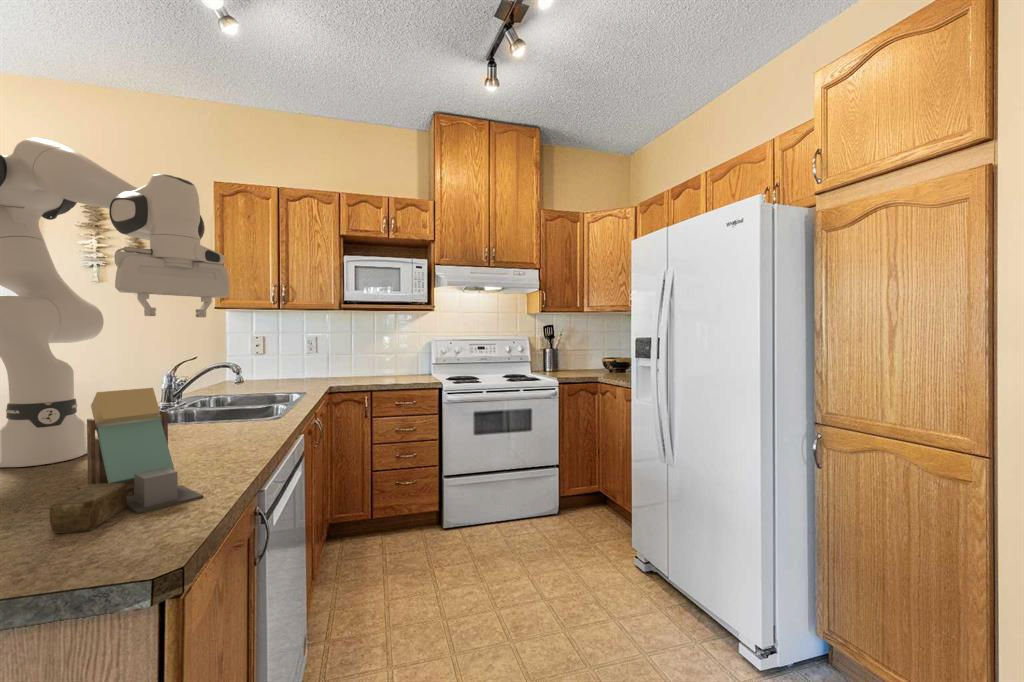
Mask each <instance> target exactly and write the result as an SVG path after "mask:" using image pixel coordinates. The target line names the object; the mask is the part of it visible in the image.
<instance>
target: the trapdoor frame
mask: <svg viewBox="0 0 1024 682" xmlns="http://www.w3.org/2000/svg"><path fill="white" fill-rule="evenodd" d="M159 411H160V414H159V415H161V417H162V421H161V423H162V426H163V430H164V434H165V437H166V441H167V444H168V445H169V423H168V421H169V413H168V411H167V410H159ZM86 445H87V454H86V455H87V456H86V457H87V460H86V461H87V484H83V485H78V486H77V490H79V489H82V488H84V487H87V486H89V485H90V484H101V483H102V484H106V483H108V480H107V475H106V471H105V466H104V462H103V457H102V453H101V448H100V444H99V439H98V435H97V436H96V430H95V420H94V418H86ZM122 483H125V484H126V485H127V490H131V489H134V480H132V481H127V482H122Z"/></svg>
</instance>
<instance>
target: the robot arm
mask: <svg viewBox="0 0 1024 682" xmlns="http://www.w3.org/2000/svg"><path fill="white" fill-rule="evenodd" d="M77 203H79V204H81V205H82V204H84V205H88V206H93V207H98V208H102V209H103V208H104V209H109V211H108V212H109V218H110V222H111V225H112V226H113V227H114V228H115V230H116V231H117V232H118V233H120V234H122V235H125V236H128V237H132V238H135V239H141V240H146V241H149V248H143V247H139V248H138V247H133V246H124V247H120V248H119V249H117V250H116V251H115V252H114V264H115V265H116V271H115V280H114V288H115V289H116V290H117V291H118V292H119V293H124V294H137V297H136V298H137V300H138V302H139V303H140V304H141V306H142V308H143V310H144V311H143V313H144V317H156V316H157V312H156V311H157V307H151V305H150V303H149V302H148V300H149V299H150V295H157V296H158V295H159V296H160V295H161V296H175V297H176V296H179V297H193V298H200V302H201V303H202V305H201V306H200V308H198V309H197V308H196V309H195V317H196V318H204V319H205V318H207V310H208V309H209V307H210V306H211V304H212V303H213V300H212V299H213V298H214V299H223V298H227V297H228V295H229V294H230V290H231V289H230V278H229V273H228V270H227V268H226V267H225V266H224V265H223V264H225V262H226V257H225V255H224V254H222V253H220V252H217V251H215V250H213V249H210V248H208V247H206V246H204V245H201V240H202V238H203V236H204V234H205V229H206V228H205V223H204V220H203V217H202V215H201V206H200V197H199V193H198V190H197V187H196V185H195V184H193V182H191V181H189V180H187V179H184V178H181V177H178V176H174V175H170V174H166V173H165V174H164V173H157V174H153V175H152V176H151V177H150V179H149V180H148V182H146V184H144V185H143V186H141V187H139V188H138V187H135V185H132V184H131V183H129V182H127V181H126V180H124V179H122V178H121V177H119V176H117V175H116V174H114V173H112V172H110V171H109V170H108V169H106V168H104V167H103V166H101V165H99V164H97V163H96V162H95V161H93V160H91V159H90V158H88V157H87V156H85V155H83V154H82V153H80V152H78V151H76V150H74V149H73V148H70V147H68V146H66V145H63V144H61V143H58V142H55V141H52V140H48V139H43V138H41V137H40V138H39V137H31V138H27V139H24V140H21V141H20V142H18V143H17V144H16V146H14V149H13V152H12V154H10V155H4V154H3V155H2V154H0V286H2V287H3V288H5V289H6V290H7V289H8V290H9V291H11V292H13V293H15V294H16V295H17V296H16V295H1V296H0V359H1V360H2V362H3V364H4V368H5V369H6V374H7V380H8V396H9V397H8V400H9V402H8V403H7V404H6V408H5V413H6V416H5V417H6V419H7V422H6V424H5V425H3V426H2V427H1V429H0V468H21V467H22V468H23V467H32V466H41V465H46V464H47V465H49V464H55V463H59V462H64V461H68V460H73V459H77V458H79V457H82V456H85V455H87V431H86V423H85V420H84V419H82V418H80V417H78V416H77V414H76V413H78V410H77V409H78V408H77V407H78V403H77V398H75V391H74V389H75V385H74V381H75V380H74V378H75V377H74V372H75V371H74V369H73V367H72V365H70V364H69V363H68V362H65V361H64V360H62V359H59V358H57V357H56V356H55V355H54V354H53V352H52V350H51V347H50V344H63V343H64V344H67V343H68V344H72V343H77V342H82V341H87V340H91V339H95V338H96V337H97V336H99V335H100V333H101V332H102V330H103V329H104V321H105V320H104V316H103V313H102V311H101V310H100V309H99V308H98V307H97V306H96V305H95V304H92V303H91V302H89V301H87V300H85V299H84V298H83V297H81V296H80V295H79V294H77V293H76V292H75V291H74V290H73V289H72V288H71V286H70V285H68V284H67V282H66V281H64V279H63V277H62V276H61V275H60V274H59V272H58V270H57V269H56V266H55V264H54V262H53V259H52V257H51V254H50V252H49V249H48V246H47V243H46V242H45V239H44V237H43V234H42V232H41V229H40V226H39V225H40V224H39V223H40V219H41V218H43V219H46V220H48V221H51V220H55V219H57V217H58V216H60V215H63V214H66V213H68V212H69V211H70V210H71V209H73V208H74V207H75V206H76V205H77Z"/></svg>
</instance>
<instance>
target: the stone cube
mask: <svg viewBox="0 0 1024 682" xmlns="http://www.w3.org/2000/svg"><path fill="white" fill-rule="evenodd" d="M178 483H179V482H178V471H176V470H175V469H174V470H172V469H170V468H167V467H165V468H160V469H155V470H150V471H145V472H140V473H135V474H134V488H133V492H134V493H133V496H134V501H135V502H136V503H138V504H140V505H141V506H143V507H148V506H152V505H156V504H160V503H164V502H168V501H172V500H176V499H178V486H179V484H178Z"/></svg>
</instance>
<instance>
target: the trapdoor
mask: <svg viewBox="0 0 1024 682" xmlns="http://www.w3.org/2000/svg"><path fill="white" fill-rule="evenodd" d="M90 409H91V412H92V413H91V414H92V417H93V418H92V419H93V420H95V432H96V433H97V436H98V439H99V444H100V448H101V453H102V457H103V462H104V466H105V471H106V475H107V480H108V483H122V482H127V481H132V480H134V474H135V473H140V472H145V471H150V470H155V469H160V468H165V467H167V468H170V469H172V470H174V471H175V467H174V464H173V460H172V456H171V452H170V449H169V448H170V447H169V443H168V444H167V441H166V437H165V434H164V430H163V426H162V423H161V421H162V417H161V415H160V411H161V410H160V407H159V404H158V400H157V397H156V394H155V390H154V388H153V387H145V388H144V387H143V388H133V389H132V388H131V389H121V390H120V389H119V390H110V391H109V390H107V391H97V392H96V393H95V396H94V397H93V400H92V402H91V404H90Z"/></svg>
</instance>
